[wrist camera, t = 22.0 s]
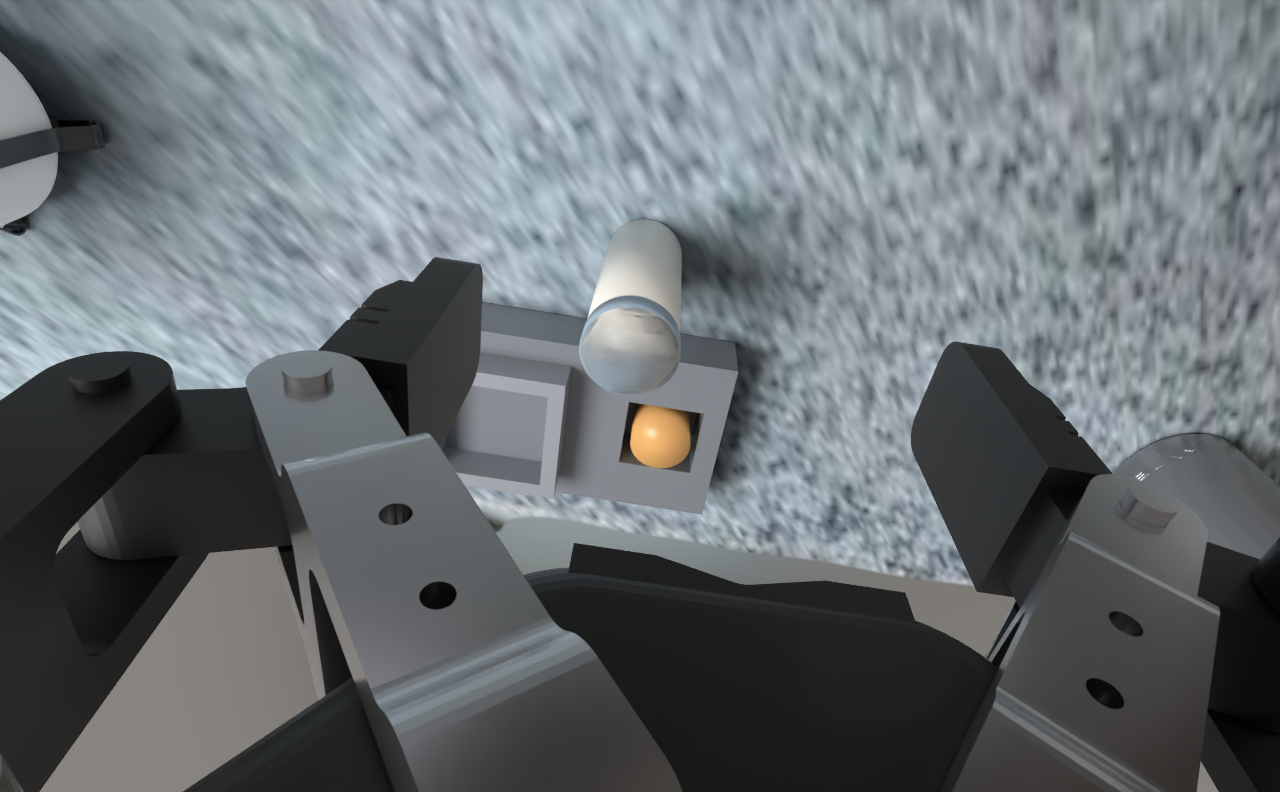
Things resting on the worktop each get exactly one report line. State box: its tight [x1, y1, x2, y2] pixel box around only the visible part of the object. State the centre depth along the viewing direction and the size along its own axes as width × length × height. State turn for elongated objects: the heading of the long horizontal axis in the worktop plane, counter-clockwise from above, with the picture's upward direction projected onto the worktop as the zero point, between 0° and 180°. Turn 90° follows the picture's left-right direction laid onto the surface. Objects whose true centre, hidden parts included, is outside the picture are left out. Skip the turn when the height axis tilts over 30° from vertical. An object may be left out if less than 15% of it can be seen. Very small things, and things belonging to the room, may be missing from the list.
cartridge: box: [579, 219, 682, 396], centre depth 39 cm, size 5×5×13 cm
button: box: [630, 403, 690, 468], centre depth 49 cm, size 4×4×4 cm
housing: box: [440, 302, 738, 514], centre depth 48 cm, size 20×12×6 cm, turn 82°
